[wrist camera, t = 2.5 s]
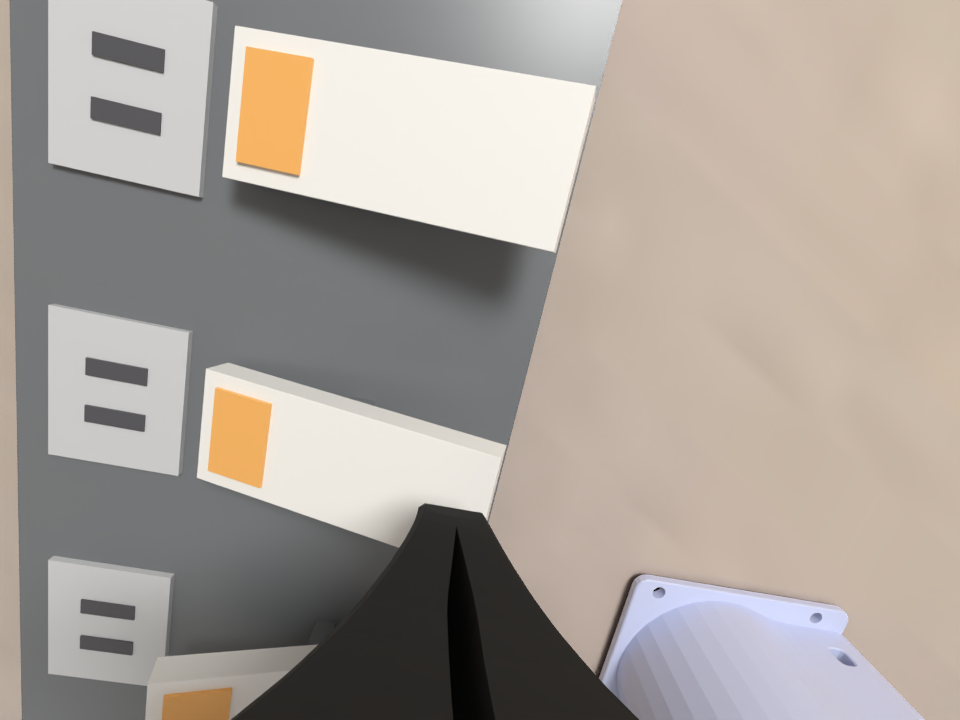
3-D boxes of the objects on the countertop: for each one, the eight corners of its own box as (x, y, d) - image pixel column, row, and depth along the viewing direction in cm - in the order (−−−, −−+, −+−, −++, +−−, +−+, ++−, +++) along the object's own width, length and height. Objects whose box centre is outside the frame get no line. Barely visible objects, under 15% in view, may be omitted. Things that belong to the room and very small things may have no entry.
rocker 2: (594, 100, 10) (596, 84, 9) (555, 253, 10) (553, 251, 10) (259, 42, 11) (231, 23, 10) (245, 183, 12) (218, 175, 11)
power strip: (592, 35, 14) (640, -39, 10) (428, 697, 20) (421, 802, 16) (108, -101, 13) (-38, -244, 9) (89, 653, 19) (-3, 756, 15)
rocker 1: (438, 634, 15) (444, 658, 15) (420, 708, 16) (425, 735, 15) (158, 656, 13) (145, 687, 12) (151, 745, 13) (140, 779, 13)
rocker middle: (506, 445, 12) (500, 459, 11) (478, 554, 12) (471, 575, 11) (228, 362, 13) (203, 369, 12) (218, 465, 14) (193, 479, 13)
